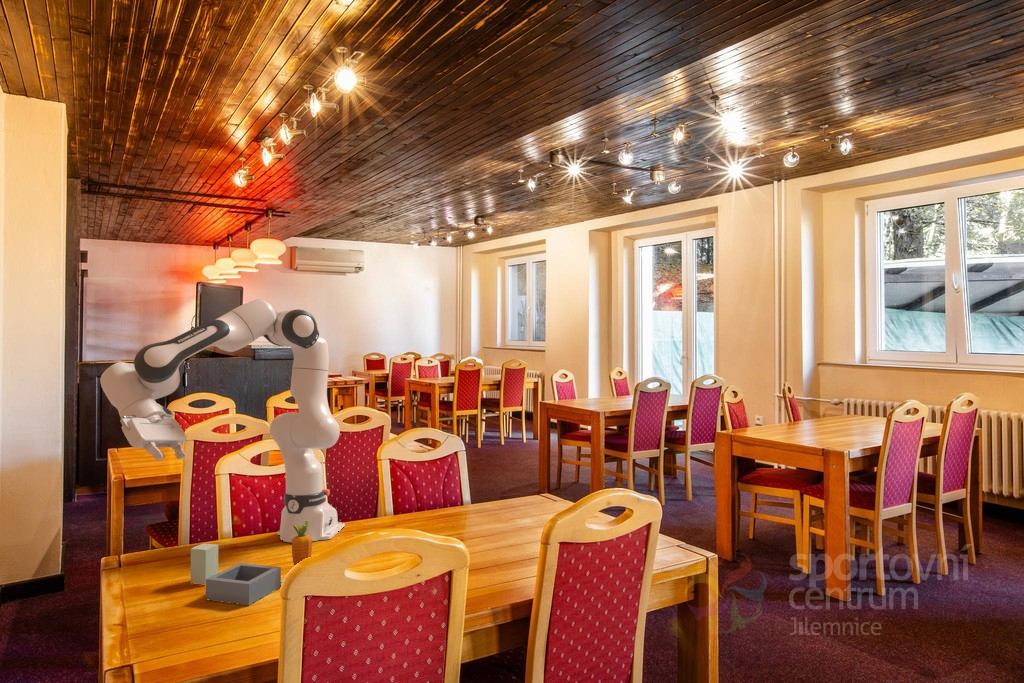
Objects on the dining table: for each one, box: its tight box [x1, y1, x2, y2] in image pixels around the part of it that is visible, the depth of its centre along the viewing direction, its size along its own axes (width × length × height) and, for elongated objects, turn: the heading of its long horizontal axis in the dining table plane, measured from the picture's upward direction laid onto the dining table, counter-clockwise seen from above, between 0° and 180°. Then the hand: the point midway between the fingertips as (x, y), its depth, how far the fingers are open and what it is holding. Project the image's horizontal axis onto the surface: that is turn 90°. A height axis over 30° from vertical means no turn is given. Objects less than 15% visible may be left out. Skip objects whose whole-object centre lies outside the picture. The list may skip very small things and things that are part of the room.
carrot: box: [291, 520, 313, 566], centre depth 166 cm, size 5×5×15 cm
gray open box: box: [205, 562, 282, 606], centre depth 156 cm, size 12×12×5 cm
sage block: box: [190, 543, 219, 584], centre depth 164 cm, size 4×4×9 cm
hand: (172, 458), depth 168 cm, fingers open, 8 cm apart
